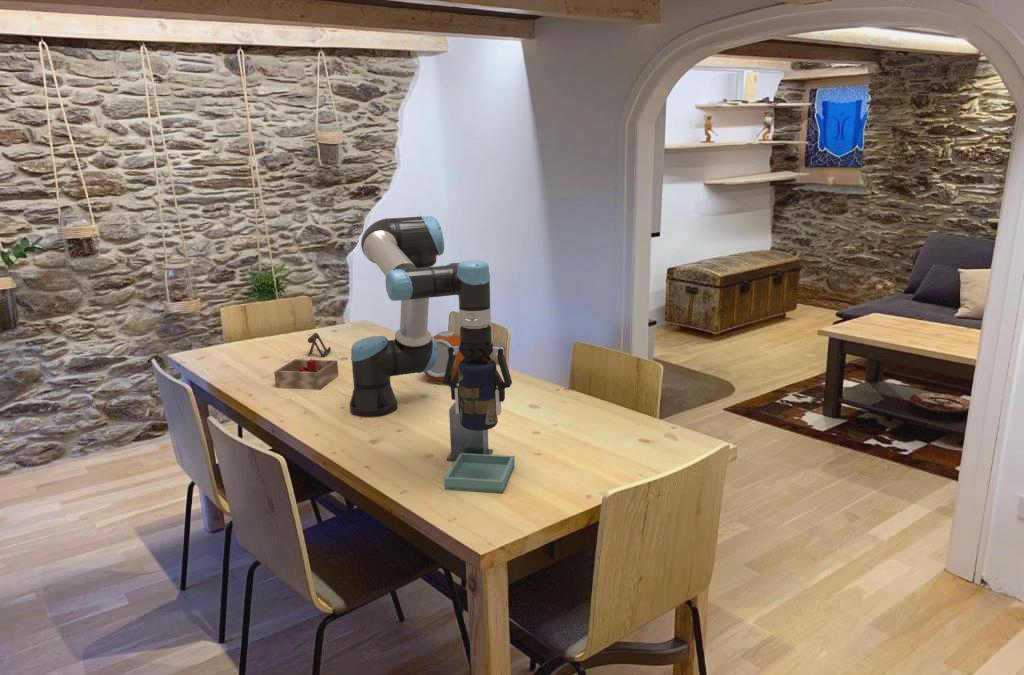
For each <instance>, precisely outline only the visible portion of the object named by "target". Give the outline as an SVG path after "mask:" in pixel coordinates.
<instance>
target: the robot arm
mask: <svg viewBox="0 0 1024 675" xmlns="http://www.w3.org/2000/svg"><path fill="white" fill-rule="evenodd" d="M442 230H443V229H442V227H441V225H440V222H439V221H438V219H437V218H435V217H434V216H431V215H430V216H429V215H428V216H425V215H420V216H408V217H407V216H405V217H393V218H390V217H389V218H387V217H386V218H382V219H379V220H377V221H374V222H373V223H372V224H371V225H369V226H368V228H366V229H365V231H364V232H363V234H362V237H361V240H360V242H361V244H360V248H361V250H362V253H363V255H364V256H365V258H366V259H367V260H368V261H370V262H371V263H374V264H376V265H377V267H378V268H379V269H380V270H381V271H380V272H382V273H383V275H384V276H385V290H386V293H387V297H388V298H389V299H390V300H391V301H394V302H395V301H396V302H397V301H400V320H399V321H400V322H399V324H400V325H399V329H397V330H396V332H395V334H394V339H388V337H387V336H385V335H374V336H373V335H372V336H367V337H364V338H361V339H359V340H357V341H356V342H354V343H353V344H352V345H351V347H350V348H351V350H350V351H351V352H350V353H351V355H350V356H351V357H350V360H351V366H352V367H351V369H352V380H353V390H352V395H351V398H350V403H349V412H350V414H352V415H353V416H355V417H361V418H377V417H382V416H387V415H390V414H392V413H395V412H396V411H397V410H398V400H397V397H396V395H395V392H394V390H393V388H392V386H391V377H395V376H397V377H398V376H403V375H411V374H421V373H423V372H424V373H425V371H429V370H431V369H432V368H433V367H434V365H435V363H436V358H437V351H436V349H437V345H436V341H435V339H434V335H433V336H432V333H431V332H430V330H428V322H429V320H428V319H429V304H430V298H439V297H449V296H458V308H459V309H458V311H459V325H460V327H459V336H460V340H461V343H460V346H454V345H452V346H450V347H449V348H448V354H449V358H448V363H447V367H446V372H445V376H444V381H443V385H444V386H448V387H449V388H450V393H451V395H450V397H451V400H453V401H454V403H455V407H456V414H459V413H460V403H459V380H458V371H457V373H456V375H455V377H454V379H453V380H451V376H452V371H453V367H454V362H455V358H456V355H457V354H458V351H460V352H461V354H462V355H463V356H464V359H463V361H462V363H467V362H468V360H471V361H470V362H474V363H483V364H489V363H490V362H491V361H492V360H493V359H492V357H491V354H492V353H494V356H496V357H497V362H498V365H499V369H500V372H501V374H500V373H499V371H498V369H497V368H496V371H497V372H496V373H495V383H496V385H497V389H496V390H495V393H496V415H497V416H500V415H501V413H502V403H504V401H505V399H506V391H505V390H506V389H508V388H510V387H511V386H512V384H513V380H512V377H511V374H510V370H509V366H508V364H507V360H506V356H505V350H506V348H505V346H502V345H501V346H500V347H498V346H496V347H495V346H494V345H493V343H492V327H491V325H490V324H492V316H491V312H492V311H491V284H490V283H491V274H490V267H489V266H490V265H489V264H488V262H487V261H485V260H479V259H478V260H477V259H476V260H475V259H473V260H471V259H470V260H463V261H459V262H450V263H448V264H446V265H439V266H438V265H437V266H435V265H436V264H437V257H438V256H441V255H443V254H444V253H445V239H444V234H443V231H442ZM487 359H488V360H487Z"/></svg>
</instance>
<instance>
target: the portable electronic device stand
mask: <svg viewBox="0 0 1024 675" xmlns="http://www.w3.org/2000/svg"><path fill="white" fill-rule="evenodd" d="M317 339H318V341H319V342H320V345H321V346H322V348H323V350H324V352H322V350H321V349H320V347H319V345H318V343H317ZM307 342H308V343H309V344H311V347H310V349H309V352H308V355H307V356H308V357H309V356H310V355H311V354H312V353H313V350H314V348H316V350H317V351H318V353H319V355H320V357H322V358H326V356H327V355H329V353H330V352H331V351H332V348H331V346H329V347H328V348H326V346H325V344H324V341H323V340H322V338H321V337H320V335H319V333H318V332H314V333H313V334H312V335H311V336H309V337H308V339H307Z"/></svg>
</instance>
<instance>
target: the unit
mask: <svg viewBox="0 0 1024 675" xmlns="http://www.w3.org/2000/svg"><path fill="white" fill-rule="evenodd" d="M448 415H449V416H448V417H449V419H448V420H449V435H450V437H449V438H450V453H449V455H448V456H447V457H446V461H448V462H455V461H456V459H457V457H458V456H459V454H460V453H469V454H486V455H493V451H494V448H493V449H492V448H489V429H488V430H483V431H474V430H468V429H466V428H464V427H463V426H462V425H461V423H460V413H459V414H456V407H455V402H453V404H452V405H451V406H450V408H449V409H448Z"/></svg>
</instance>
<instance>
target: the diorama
mask: <svg viewBox="0 0 1024 675" xmlns="http://www.w3.org/2000/svg"><path fill="white" fill-rule="evenodd" d="M308 360H309V361H307V367H299V369H298V371H299V372H318V371H317V370H316V368H315V360H316V359H308ZM321 368H322V367H321V366H320V368H319V371H320V370H321Z"/></svg>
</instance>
